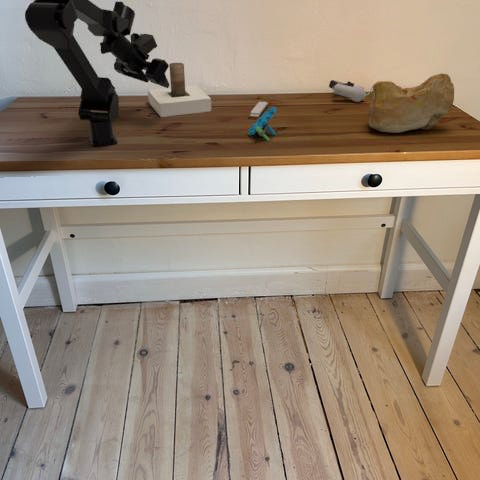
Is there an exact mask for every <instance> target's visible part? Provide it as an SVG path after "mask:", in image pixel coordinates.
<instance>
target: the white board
mask: <svg viewBox="0 0 480 480" xmlns="http://www.w3.org/2000/svg"><path fill="white" fill-rule="evenodd" d="M185 92H186V94H185V96H183V97H173V96H172V95H171V87H168V88H166V87H163V88H155V89H147V96H148V97H147V98H148V103H149V104H150V106H151V107H152V108H153V109H154V111H155V112H156V113H157V114H158V115H159V117H160V118H165V117H166V118H167V117H174V116H181V115H182V116H183V115H191V114H200V113H207V112H208V113H209V112H212V98H211V97H210V96H209V95H208V94H207V93H205V91H202V90H201V89H200V88H199V87H198V86H197V85H196V84H195V85H185Z"/></svg>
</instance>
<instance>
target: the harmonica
mask: <svg viewBox="0 0 480 480" xmlns="http://www.w3.org/2000/svg"><path fill="white" fill-rule="evenodd" d="M269 105H270V104H269V102H268V101H267V102H266V101H258V102H257V104H256V105H255V106H254V107H253V109H251V111H250V114H249V115H248V117H247V118H248V120H258V119H259V118H260V117H262V116H263V114H264V113H265V112H266V109H267V108H268V107H269Z"/></svg>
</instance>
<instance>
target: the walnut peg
mask: <svg viewBox="0 0 480 480" xmlns="http://www.w3.org/2000/svg"><path fill="white" fill-rule="evenodd" d="M168 65H169V67H168V68H169V78H170V79H169V81H170V88H171V95H172V96H173V97H183V96H185V94H186V92H185V86H186V83H185V82H186V77H185V64H184V63H183V62H172V63H171V62H170V63H168Z"/></svg>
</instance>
